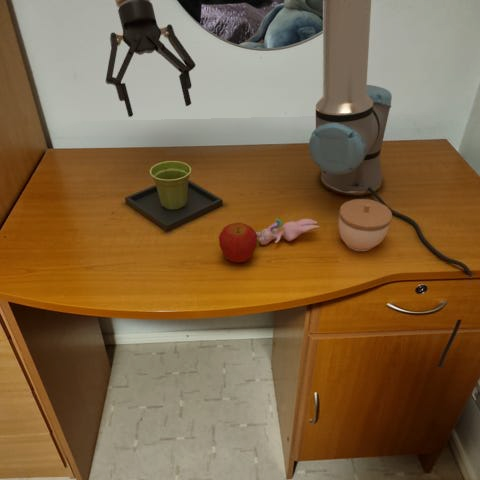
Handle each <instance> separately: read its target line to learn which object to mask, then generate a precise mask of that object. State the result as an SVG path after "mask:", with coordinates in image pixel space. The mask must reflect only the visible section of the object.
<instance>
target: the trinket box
mask: <svg viewBox="0 0 480 480" xmlns="http://www.w3.org/2000/svg"><path fill="white" fill-rule="evenodd" d="M387 206H388V205H387ZM387 206H385V205H383V204H382V203H380V202H379V201H378V200H377V201H376V200H374V199H368V198H356V199H351V200H348V201H345V202H344V203H343V204H342V205H341V206H340V207H339V211H338V213H339V214H338V223H337V224H338V227H337V228H338V233H339V236H340V238H341V240H342V241H343V242H344V244H345V246H346V247H347V248H348V249H351V250H353V251H356V252H367V251H370V250H372V249H373V248H375V247H377V246H378V245H379V244H381V243H382V241H383V240H384V239H385V237H386V236H387V234H388V231H389V228H390V225H391V223H392V221H393V214H392V213H391V211H390V209H389V208H390V207H389V206H388V207H389V208H388V207H387Z"/></svg>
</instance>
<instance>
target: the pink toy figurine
mask: <svg viewBox="0 0 480 480" xmlns="http://www.w3.org/2000/svg"><path fill="white" fill-rule="evenodd" d="M274 221H275V222H274V223H272V224H271V225H269V226H267V228H263V229H261V230H260V231H255V233H256V235H257V242H259V245H261V246H266V245H268V244H269V243H271V241H274V244H278V243H279V242H280V240H281V238H283V239H284V240H286V241H288V242H291V241H293V240H295V239H297V238H298V237H300V235H301V234H302V235H303V234H304V233H306V232H310V231H311V230H313V229H319V228H320V227H321V226H320V225H318V221H316V220H314V219H311V218H303V219H302V218H301V219H298V220H297V221H294V220H290V221H287V222H286V223H284V224H283V221H282V219H281V218H275V219H274ZM282 224H283V225H282ZM281 226H282V227H281ZM280 227H281V230H278V229H279V228H280Z"/></svg>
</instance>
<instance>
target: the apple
mask: <svg viewBox="0 0 480 480" xmlns="http://www.w3.org/2000/svg"><path fill="white" fill-rule="evenodd" d="M255 232H256V231H255V230H254V228H253V227H252V226H250V225H248V224H246V223H242V222H233V223H230V224H228V225H226V226H224V227H223V228H222V230H221V231H220V233H219V235H218V242H219V243H218V244H219V248H220V250H221V253H222V254H223V255H224V257H225V258H226V259H227V260H228V261H230V262H233V263H240V264H241V263H244V262H247V261H249V260H250V259H251V257H252V256H253V254H254V253H255V251H256V248H257V245H258V241H257V235H256V233H255Z"/></svg>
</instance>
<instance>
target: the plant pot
mask: <svg viewBox="0 0 480 480" xmlns="http://www.w3.org/2000/svg"><path fill="white" fill-rule="evenodd" d="M191 173H192V167H191V166H190V165H189V164H187V163H186V162H184V161H178V160H167V161H162V162H158V163H156V164H154V165H152V166H151V168H150V169H149V175H150V176H151V178H152V180H153V181H154V185H156V187H157V191H158V194H159V198H160V202H161V205H162V206H163V207H165V208H166V209H170V210H176V209H180V208H181V207H183V206H185V205H186V204H187V190H188V180H190V175H191Z"/></svg>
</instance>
